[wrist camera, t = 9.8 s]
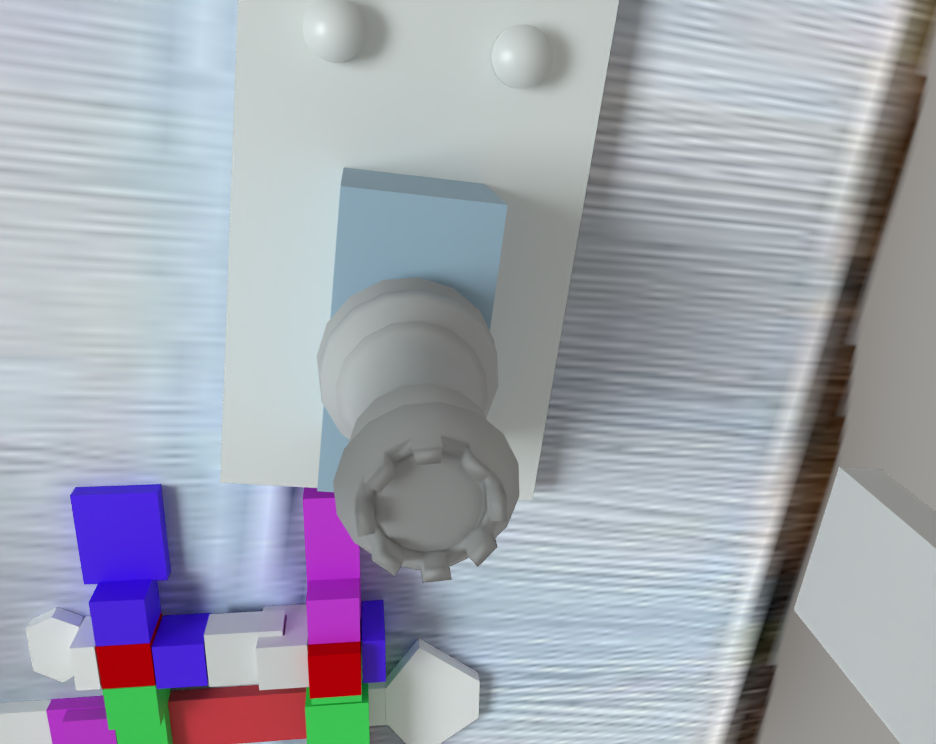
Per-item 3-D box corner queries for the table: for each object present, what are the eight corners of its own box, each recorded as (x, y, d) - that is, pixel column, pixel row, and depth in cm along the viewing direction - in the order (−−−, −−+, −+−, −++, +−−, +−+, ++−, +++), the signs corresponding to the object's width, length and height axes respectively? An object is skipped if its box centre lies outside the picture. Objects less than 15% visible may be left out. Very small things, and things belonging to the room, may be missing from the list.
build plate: (249, -173, 21) (241, -192, 20) (626, -105, 23) (645, -118, 21) (224, 468, 27) (217, 491, 25) (526, 486, 28) (535, 509, 27)
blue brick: (343, 167, 23) (340, 186, 19) (484, 183, 24) (507, 205, 20) (323, 430, 26) (316, 491, 22) (450, 438, 26) (465, 499, 23)
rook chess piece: (506, 283, 21) (589, 403, 13) (479, 445, 22) (541, 636, 15) (325, 261, 20) (305, 375, 13) (309, 431, 21) (283, 624, 14)
